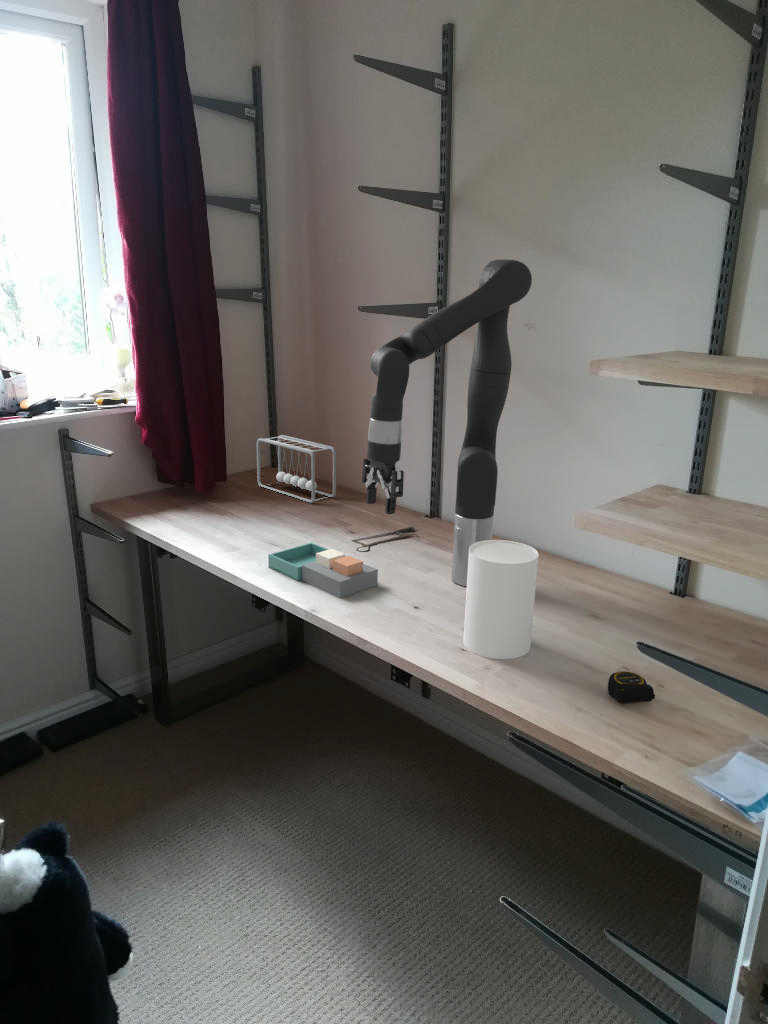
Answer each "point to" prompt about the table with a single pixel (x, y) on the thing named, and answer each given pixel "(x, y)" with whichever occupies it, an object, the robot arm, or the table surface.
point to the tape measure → (629, 688)
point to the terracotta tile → (348, 566)
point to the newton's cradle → (296, 480)
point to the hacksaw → (400, 532)
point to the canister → (500, 598)
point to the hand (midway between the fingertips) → (380, 508)
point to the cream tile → (328, 557)
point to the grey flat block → (339, 579)
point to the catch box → (294, 559)
